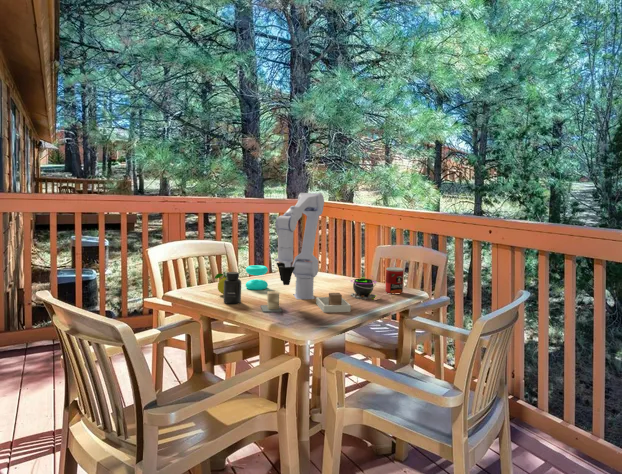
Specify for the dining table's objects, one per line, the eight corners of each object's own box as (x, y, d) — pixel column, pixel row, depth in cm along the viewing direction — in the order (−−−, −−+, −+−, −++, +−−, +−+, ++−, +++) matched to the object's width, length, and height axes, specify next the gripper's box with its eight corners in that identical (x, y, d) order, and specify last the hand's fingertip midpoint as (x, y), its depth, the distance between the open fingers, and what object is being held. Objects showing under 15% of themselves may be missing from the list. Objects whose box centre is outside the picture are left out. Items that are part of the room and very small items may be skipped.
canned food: (391, 295, 220) (392, 270, 219) (381, 291, 227) (382, 267, 226) (406, 294, 223) (407, 269, 222) (396, 290, 230) (397, 266, 229)
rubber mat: (260, 306, 194) (260, 305, 194) (283, 305, 196) (283, 304, 196) (263, 312, 185) (263, 311, 185) (287, 311, 187) (287, 310, 187)
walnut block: (328, 308, 191) (328, 292, 191) (338, 308, 192) (339, 292, 191) (330, 311, 187) (331, 295, 187) (341, 310, 188) (341, 295, 187)
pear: (214, 294, 213) (214, 270, 212) (227, 292, 217) (227, 269, 216) (220, 297, 208) (220, 273, 207) (233, 295, 211) (233, 272, 210)
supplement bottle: (228, 305, 194) (228, 274, 193) (220, 301, 200) (220, 272, 199) (244, 303, 198) (244, 273, 197) (236, 299, 204) (236, 270, 203)
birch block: (277, 306, 193) (277, 291, 192) (279, 309, 189) (279, 293, 188) (267, 306, 192) (267, 291, 191) (268, 309, 188) (268, 293, 187)
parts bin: (315, 304, 199) (316, 297, 198) (340, 304, 201) (341, 296, 200) (323, 313, 185) (323, 305, 185) (350, 313, 187) (350, 305, 187)
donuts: (253, 269, 220) (241, 265, 227) (253, 291, 221) (241, 287, 228) (272, 267, 226) (259, 264, 234) (272, 288, 227) (259, 285, 235)
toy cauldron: (361, 303, 203) (362, 276, 202) (338, 296, 215) (338, 271, 214) (388, 299, 212) (389, 273, 211) (364, 292, 224) (365, 268, 223)
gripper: (272, 245, 196) (272, 279, 198) (277, 250, 182) (276, 286, 183) (290, 244, 197) (290, 279, 199) (296, 249, 183) (295, 286, 185)
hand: (284, 282), depth 191 cm, fingers open, 7 cm apart
